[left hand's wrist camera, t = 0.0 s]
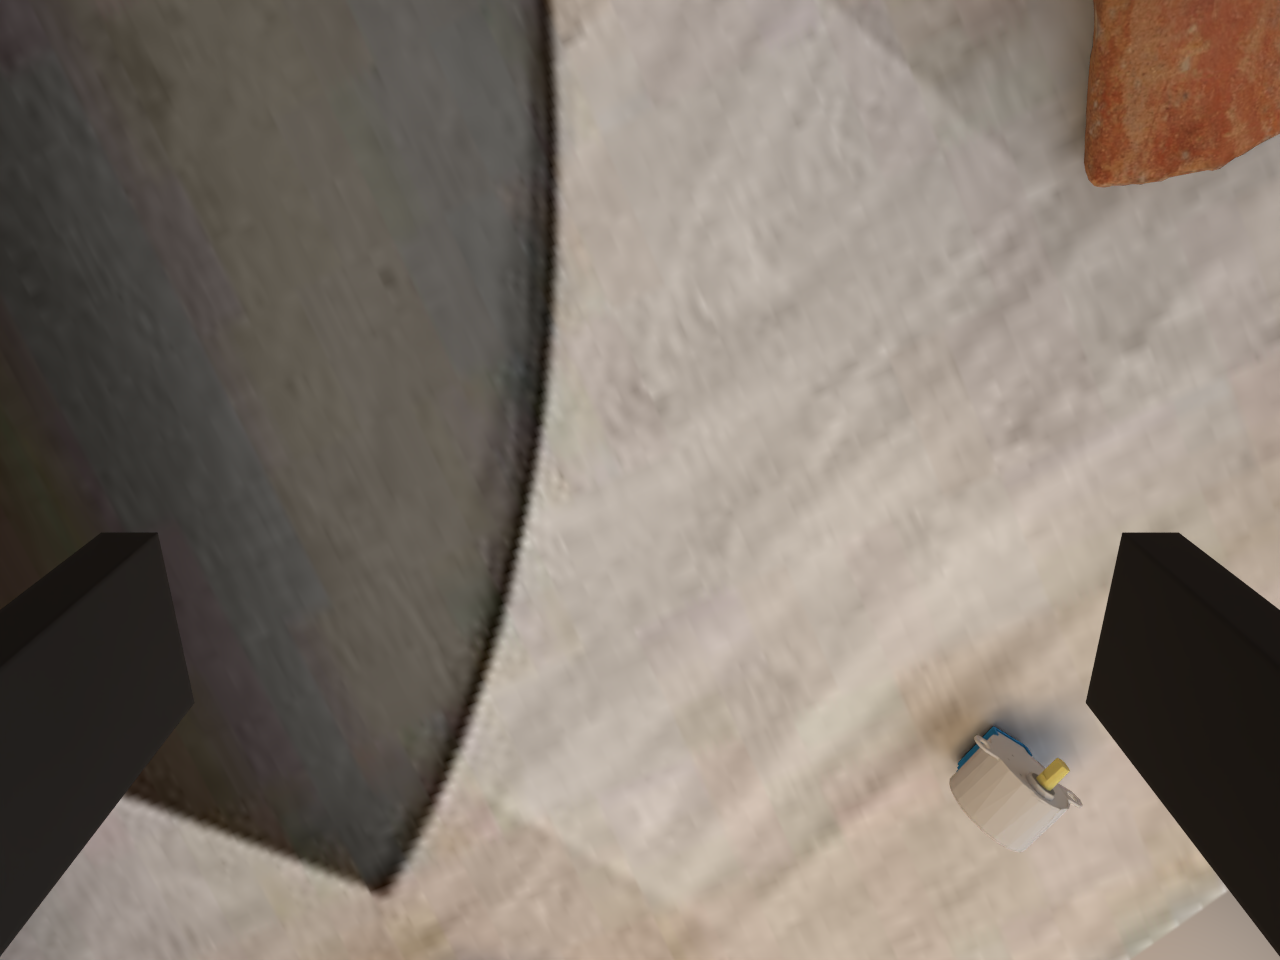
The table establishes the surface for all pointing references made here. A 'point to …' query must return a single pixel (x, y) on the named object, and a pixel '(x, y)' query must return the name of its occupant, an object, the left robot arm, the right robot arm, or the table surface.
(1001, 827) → the electric motor
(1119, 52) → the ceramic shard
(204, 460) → the table surface
